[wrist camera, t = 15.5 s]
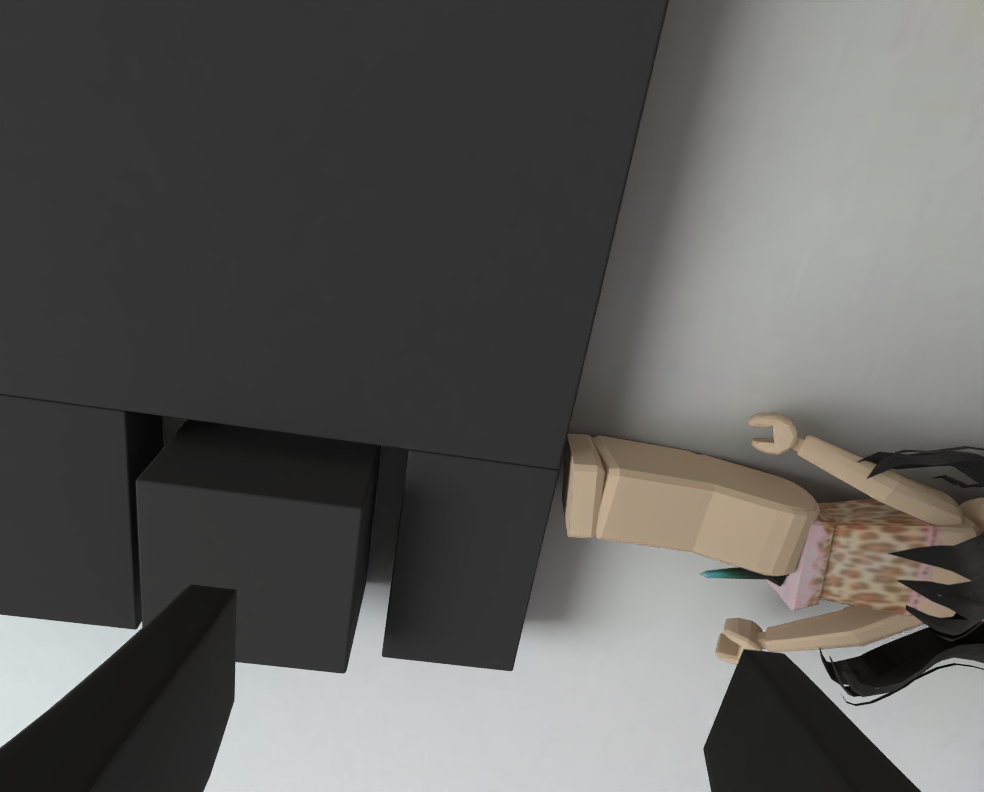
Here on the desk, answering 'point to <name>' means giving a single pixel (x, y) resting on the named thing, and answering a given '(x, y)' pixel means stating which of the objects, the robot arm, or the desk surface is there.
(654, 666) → the desk surface
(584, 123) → the black slab with blocks
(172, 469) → the small block
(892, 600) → the toy figure
